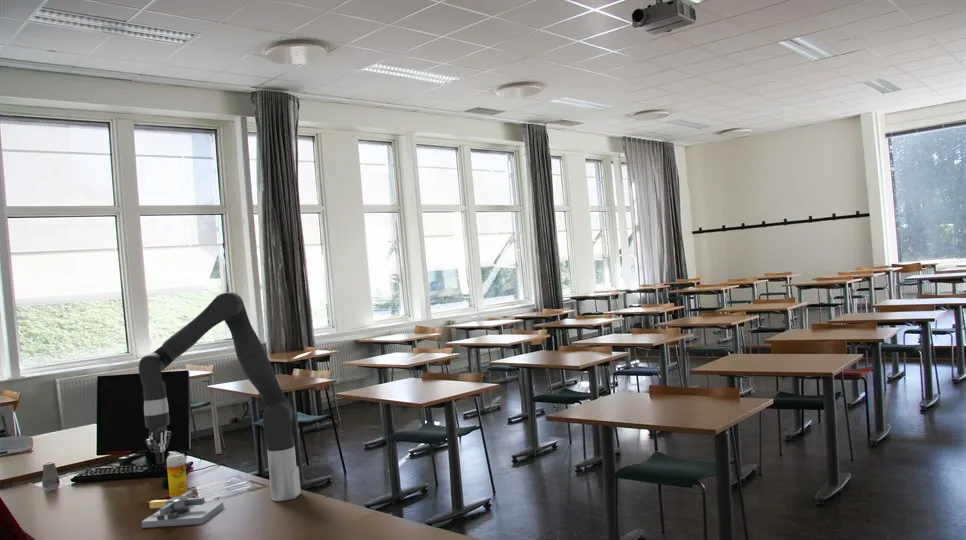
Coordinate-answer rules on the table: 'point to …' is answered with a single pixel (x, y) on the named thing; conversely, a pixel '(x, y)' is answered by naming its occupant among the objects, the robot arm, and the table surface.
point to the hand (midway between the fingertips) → (160, 463)
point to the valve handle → (177, 503)
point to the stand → (184, 516)
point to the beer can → (176, 475)
